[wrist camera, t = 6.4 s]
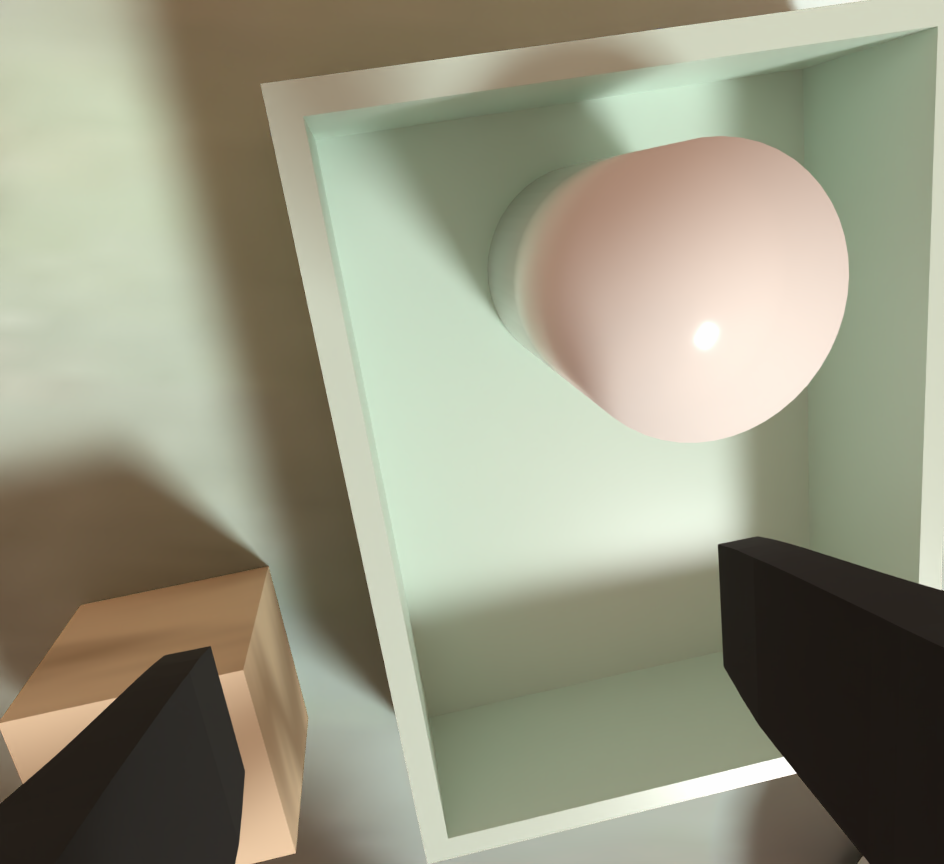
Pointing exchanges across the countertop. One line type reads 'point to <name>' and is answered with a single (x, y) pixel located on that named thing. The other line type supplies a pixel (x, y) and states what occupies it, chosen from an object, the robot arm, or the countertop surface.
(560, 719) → the tote
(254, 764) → the maple cube
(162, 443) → the countertop surface
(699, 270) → the pale pink egg
